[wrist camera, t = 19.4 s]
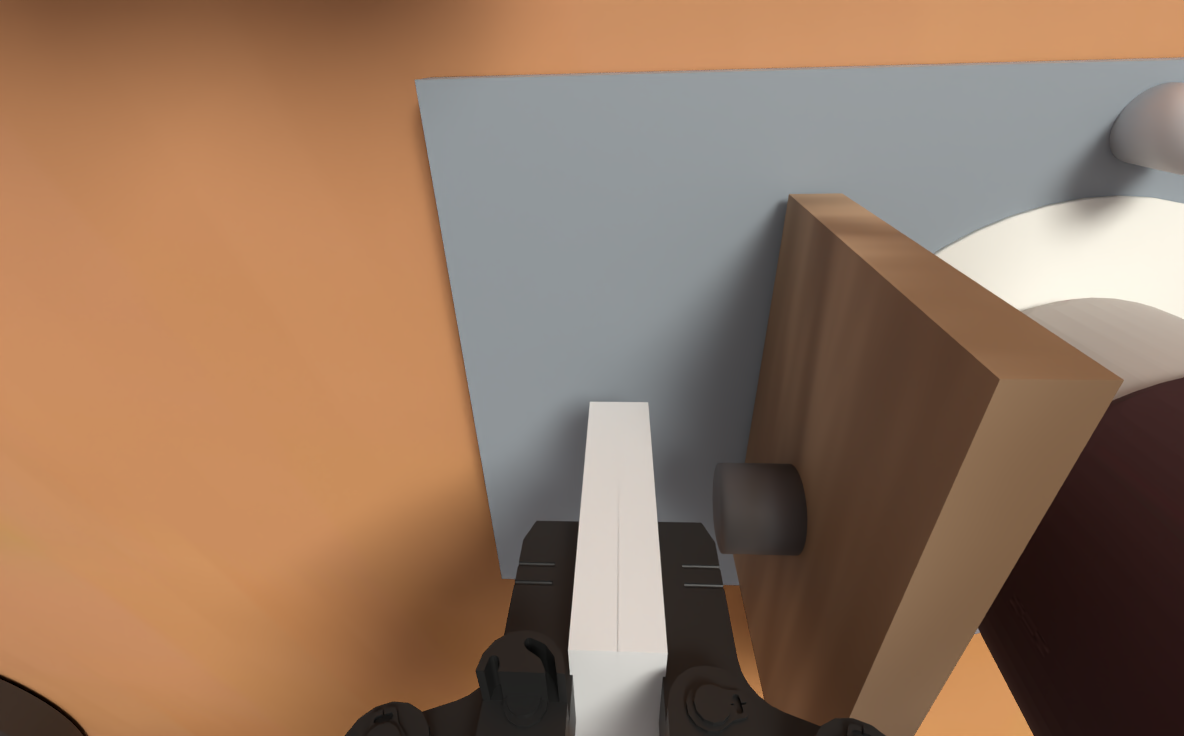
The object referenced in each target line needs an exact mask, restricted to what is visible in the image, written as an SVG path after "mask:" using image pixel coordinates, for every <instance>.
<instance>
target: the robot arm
mask: <svg viewBox="0 0 1184 736" xmlns="http://www.w3.org/2000/svg"><path fill="white" fill-rule="evenodd" d="M719 566H720V565H719V560H718V554H717V549H716V544H715V541H714V540H713V538H712V537H711V536H710V534H709V533H708V531H707V530H706V528H705V527H704V525H703V524H702V523H696V522H657V509H656V496H655V483H654V470H653V457H652V445H651V432H650V419H649V406H648V402H590V406H589V418H588V429H587V440H586V452H585V463H584V474H583V486H582V497H581V508H580V520H579V521H536V522H535V524H534V525H533V526H532V528H531V529H530V531H529V532H528V533H527V535H526V536H525V538H524V539H523V543H522V548H521V553H520V558H519V566H518V568H517V573H516V578H515V585H514V588H513V593H512V598H511V603H510V608H509V613H508V618H507V623H506V628H505V633H504V636H503V637H501V638H499V639H497V640H495V641H494V642H493V643H492V644H491V646H490V647H489V648H488V649H487V650H486V651H485V652H484V653H483V655H482V657H481V659H480V662H479V664H478V666H477V669H476V674H477V678H478V682H479V686H480V688H478V689H477V690H475V691H474V692H473V693H471V694H470V695H468V696H466V697H464V698H462V699H459V700H457V701H454V702H451V703H448V704H445V705H442V706H439V707H436V708H433V709H429V710H426V711H423V712H421V711H420V710H419V709H417V708H416V707H414V706H413V705H411V704H410V703H403V702H390V703H387V704H384V705H381V706H377V707H375V708H373V709H372V710H371V711H369V712H368V713H366V714H365V715H363V716H362V717H361V718H359V719H358V720H357V722H356V723H355V724H354V725H353V726H352V728H351V729H350V730H349V731H348V732H347V734H346V735H345V736H886V735H884V734H883V733H882V732H880V731H879V730H878V729H876V728H875V727H874V726H872V725H870V724H867V723H865V722H862V721H859V720H857V719H854V718H835V719H833V720H831V721H829V722H827V723H825V724H823V725H822V726H819V725H816V724H813V723H811V722H808V721H806V720H803V719H801V718H798V717H795V716H793V715H790V714H788V713H785V712H783V711H781V710H779V709H777V708H775V707H773V706H771V705H770V704H768V703H767V702H766V701H764V700H763V699H762V698H761V697H759V696H758V695H757V694H756V692H755V691H754V690H753V689H752V688H751V687H750V685H749V684H748V683H747V681H746V679H745V677H744V676H743V674H742V672H741V669H740V666H739V662H738V659H737V654H736V648H735V643H734V638H733V633H732V628H731V622H730V617H729V612H728V607H727V601H726V596H725V591H724V589H723V581H722V575H721V570H720V567H719ZM0 736H83V735H82V733H81V732H80V731H79V730H78V729H77V727H76V726H75V725H74V724H73V723H72V722H70V721H69V720H68V719H67V718H66V717H65V716H63V715H62V714H61V713H60V712H58V711H57V710H55V709H54V708H53V707H51V706H50V705H48V704H47V703H45V702H43V701H42V700H40V699H38V698H37V697H35V696H33V695H31V694H30V693H28V692H26V691H24V690H22V689H20V688H18V687H16V686H14V685H12V684H10V683H8V682H6V681H4V680H1V679H0Z"/></svg>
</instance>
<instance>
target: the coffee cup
mask: <svg viewBox="0 0 1184 736" xmlns="http://www.w3.org/2000/svg"><path fill="white" fill-rule="evenodd" d="M1021 312H1022V313H1024V314H1025V315H1027V316H1028V317H1030V318H1031V319H1033V320H1034V321H1036V322H1037V323H1039V324H1040V325H1042V326H1043V327H1045V328H1046V329H1048V330H1049V331H1051V332H1052V333H1054V334H1055V335H1057V336H1058V337H1060V338H1061V339H1063V340H1064V341H1066V342H1067V343H1069V344H1071V345H1072V346H1074V347H1075V348H1077V349H1078V350H1080V351H1081V352H1083V353H1084V354H1086V355H1087V356H1089V357H1090V358H1092V359H1093V360H1095V361H1096V362H1098V363H1099V364H1101V365H1102V366H1104V367H1105V368H1107V369H1108V370H1110V371H1111V372H1113V373H1114V374H1116V375H1117V376H1119V377H1120V378H1122V379H1123V380H1124V381H1123V383H1122V385H1121V386H1120V388H1119V390H1118V391H1117V393H1116V395H1115V397H1114V398H1113V400H1112V402H1111V403H1110V405H1109V407H1108V408H1107V410H1106V412H1105V413H1104V415H1103V417H1102V419H1101V420H1100V422H1099V424H1098V425H1097V427H1096V429H1095V430H1094V432H1093V434H1092V435H1091V437H1090V439H1089V441H1088V442H1087V444H1086V446H1085V447H1084V449H1083V451H1082V452H1081V454H1080V456H1079V458H1078V459H1077V461H1076V463H1075V464H1074V466H1073V468H1072V469H1071V471H1070V473H1069V474H1068V476H1067V478H1066V480H1065V481H1064V483H1063V485H1062V486H1061V488H1060V490H1059V491H1058V493H1057V495H1056V496H1055V498H1054V500H1053V502H1052V503H1051V505H1050V507H1049V508H1048V510H1047V512H1046V513H1045V515H1044V517H1043V518H1042V520H1041V522H1040V524H1039V525H1038V527H1037V529H1036V530H1035V532H1034V534H1033V535H1032V537H1031V539H1030V540H1029V542H1028V544H1027V546H1026V547H1025V549H1024V551H1023V552H1022V554H1021V556H1020V557H1019V559H1018V561H1017V562H1016V564H1015V566H1014V568H1013V569H1012V571H1011V573H1010V574H1009V576H1008V578H1007V579H1006V581H1005V583H1004V584H1003V586H1002V588H1001V590H1000V591H999V593H998V595H997V596H996V598H995V600H994V601H993V603H992V605H991V606H990V608H989V610H988V612H987V613H986V615H985V617H984V618H983V620H982V622H981V623H980V625H979V627H978V629H979V631H980V633H981V635H982V637H983V639H984V641H985V643H986V645H987V647H988V648H989V650H990V652H991V654H992V656H993V658H994V660H995V662H996V664H997V666H998V668H999V670H1000V672H1001V673H1002V675H1003V677H1004V679H1005V681H1006V683H1007V685H1008V687H1009V689H1010V691H1011V693H1012V695H1013V696H1014V698H1015V700H1016V702H1017V704H1018V706H1019V708H1020V710H1021V712H1022V714H1023V716H1024V718H1025V720H1026V721H1027V723H1028V725H1029V727H1030V729H1031V731H1032V733H1033V735H1034V736H1184V319H1182V318H1180V317H1177V316H1175V315H1172V314H1170V313H1168V312H1165V311H1163V310H1160V309H1158V308H1155V307H1152V306H1148V305H1145V304H1141V303H1137V302H1132V301H1126V300H1121V299H1115V298H1081V299H1070V300H1063V301H1057V302H1053V303H1049V304H1045V305H1041V306H1037V307H1033V308H1029V309H1026V310H1023V311H1021Z"/></svg>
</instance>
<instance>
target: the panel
mask: <svg viewBox="0 0 1184 736" xmlns="http://www.w3.org/2000/svg"><path fill="white" fill-rule="evenodd" d="M1123 381H1124V380H1123V379H1122V378H1120V377H1119V376H1117V375H1116V374H1114V373H1113V372H1111V371H1110V370H1108V369H1107V368H1105V367H1104V366H1102V365H1101V364H1099V363H1098V362H1096V361H1095V360H1093V359H1092V358H1090V357H1089V356H1087V355H1086V354H1084V353H1083V352H1081V351H1080V350H1078V349H1077V348H1075V347H1074V346H1072V345H1071V344H1069V343H1067V342H1066V341H1064V340H1063V339H1061V338H1060V337H1058V336H1057V335H1055V334H1054V333H1052V332H1051V331H1049V330H1048V329H1046V328H1045V327H1043V326H1042V325H1040V324H1039V323H1037V322H1036V321H1034V320H1033V319H1031V318H1030V317H1028V316H1027V315H1025V314H1024V313H1022V312H1021V311H1019V310H1018V309H1016V308H1015V307H1013V306H1012V305H1010V304H1009V303H1007V302H1006V301H1004V300H1002V299H1001V298H999V297H998V296H996V295H995V294H993V293H992V292H990V291H989V290H987V289H986V288H984V287H983V286H981V285H980V284H978V283H977V282H975V281H974V280H972V279H971V278H969V277H968V276H966V275H965V274H963V273H962V272H960V271H959V270H957V269H956V268H954V267H953V266H951V265H950V264H948V263H947V262H945V261H944V260H942V259H941V258H939V257H938V256H936V255H934V254H933V253H931V252H930V251H928V250H927V249H925V248H924V247H922V246H921V245H919V244H918V243H916V242H915V241H913V240H912V239H910V238H909V237H907V236H906V235H904V234H903V233H901V232H900V231H898V230H897V229H895V228H894V227H892V226H891V225H889V224H888V223H886V222H885V221H883V220H882V219H880V218H879V217H877V216H876V215H874V214H873V213H871V212H870V211H868V210H866V209H865V208H863V207H862V206H860V205H859V204H857V203H856V202H854V201H853V200H851V199H850V198H848V197H847V196H845V195H844V194H842V193H831V194H789V197H788V203H787V209H786V215H785V221H784V227H783V234H782V240H781V246H780V252H779V258H778V264H777V270H776V276H775V282H774V288H773V294H772V300H771V306H770V313H769V319H768V325H767V331H766V337H765V343H764V349H763V355H762V361H761V367H760V373H759V379H758V386H757V392H756V398H755V404H754V410H753V416H752V422H751V428H750V434H749V440H748V446H747V452H746V459H745V463H717V465H716V467H715V471H714V478H713V495H712V501H713V520H714V529H715V536H716V541H717V545H718V548H719V550H720V552H721V553H722V554H733V558H734V562H735V567H736V571H737V576H738V581H739V585H740V590H741V595H742V599H743V604H744V608H745V613H746V618H747V622H748V627H749V631H750V636H751V641H752V645H753V650H754V654H755V659H756V664H757V668H758V673H759V678H760V682H761V687H762V691H763V696H764V701H766V702H767V703H768V704H770V705H771V706H773V707H775V708H777V709H779V710H781V711H783V712H785V713H788V714H790V715H793V716H795V717H798V718H801V719H803V720H806V721H808V722H811V723H813V724H816V725H819V726H822V725H823V724H825V723H827V722H829V721H831V720H833V719H835V718H854V719H857V720H859V721H862V722H865V723H867V724H870V725H872V726H874V727H875V728H876V729H878V730H879V731H880V732H882V733H883V734H884V735H886V736H914V735H915V733H916V732H917V730H918V728H919V727H920V725H921V723H922V722H923V720H924V718H925V717H926V715H927V713H928V711H929V710H930V708H931V706H932V705H933V703H934V701H935V700H936V698H937V696H938V695H939V693H940V691H941V689H942V688H943V686H944V684H945V683H946V681H947V679H948V678H949V676H950V674H951V673H952V671H953V669H954V667H955V666H956V664H957V662H958V661H959V659H960V657H961V656H962V654H963V652H964V651H965V649H966V647H967V645H968V644H969V642H970V640H971V639H972V637H973V635H974V634H975V632H976V630H977V629H978V627H979V625H980V623H981V622H982V620H983V618H984V617H985V615H986V613H987V612H988V610H989V608H990V606H991V605H992V603H993V601H994V600H995V598H996V596H997V595H998V593H999V591H1000V590H1001V588H1002V586H1003V584H1004V583H1005V581H1006V579H1007V578H1008V576H1009V574H1010V573H1011V571H1012V569H1013V568H1014V566H1015V564H1016V562H1017V561H1018V559H1019V557H1020V556H1021V554H1022V552H1023V551H1024V549H1025V547H1026V546H1027V544H1028V542H1029V540H1030V539H1031V537H1032V535H1033V534H1034V532H1035V530H1036V529H1037V527H1038V525H1039V524H1040V522H1041V520H1042V518H1043V517H1044V515H1045V513H1046V512H1047V510H1048V508H1049V507H1050V505H1051V503H1052V502H1053V500H1054V498H1055V496H1056V495H1057V493H1058V491H1059V490H1060V488H1061V486H1062V485H1063V483H1064V481H1065V480H1066V478H1067V476H1068V474H1069V473H1070V471H1071V469H1072V468H1073V466H1074V464H1075V463H1076V461H1077V459H1078V458H1079V456H1080V454H1081V452H1082V451H1083V449H1084V447H1085V446H1086V444H1087V442H1088V441H1089V439H1090V437H1091V435H1092V434H1093V432H1094V430H1095V429H1096V427H1097V425H1098V424H1099V422H1100V420H1101V419H1102V417H1103V415H1104V413H1105V412H1106V410H1107V408H1108V407H1109V405H1110V403H1111V402H1112V400H1113V398H1114V397H1115V395H1116V393H1117V391H1118V390H1119V388H1120V386H1121V385H1122V383H1123Z"/></svg>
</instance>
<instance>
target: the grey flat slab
mask: <svg viewBox="0 0 1184 736" xmlns="http://www.w3.org/2000/svg"><path fill="white" fill-rule="evenodd" d="M415 84H416V90H417V96H418V102H419V107H420V113H421V119H422V124H423V130H424V136H425V142H426V147H427V153H428V159H429V165H430V170H431V176H432V182H433V187H434V193H435V199H436V205H437V210H438V216H439V222H440V227H441V233H442V239H443V245H444V250H445V256H446V262H447V267H448V273H449V279H450V285H451V290H452V296H453V302H454V307H455V313H456V319H457V325H458V330H459V336H460V342H461V348H462V353H463V359H464V365H465V370H466V376H467V382H468V388H469V393H470V399H471V405H472V410H473V416H474V422H475V428H476V433H477V439H478V445H479V450H480V456H481V462H482V468H483V473H484V479H485V485H486V490H487V496H488V502H489V508H490V513H491V519H492V525H493V531H494V536H495V542H496V548H497V553H498V559H499V565H500V571H501V576H502V579H515V578H516V573H517V568H518V566H519V558H520V553H521V548H522V543H523V539H524V538H525V536H526V535H527V533H528V532H529V531H530V529H531V528H532V526H533V525H534V524H535V522H536V521H579V520H580V508H581V497H582V486H583V474H584V463H585V452H586V440H587V429H588V418H589V406H590V402H648V406H649V419H650V432H651V445H652V457H653V470H654V483H655V496H656V509H657V522H696V523H702V524H703V525H704V527H705V528H706V530H707V531H708V533H709V534H710V536H711V537H712V538H713V540H714V541H715V544H716V549H717V554H718V560H719V565H720V566H719V567H720V570H721V575H722V581H723V585H739V581H738V576H737V571H736V567H735V562H734V558H733V554H722V553H721V552H720V550H719V548H718V545H717V541H716V536H715V529H714V520H713V501H712V495H713V478H714V471H715V467H716V465H717V463H745V459H746V452H747V446H748V440H749V434H750V428H751V422H752V416H753V410H754V404H755V398H756V392H757V386H758V379H759V373H760V367H761V361H762V355H763V349H764V343H765V337H766V331H767V325H768V319H769V313H770V306H771V300H772V294H773V288H774V282H775V276H776V270H777V264H778V258H779V252H780V246H781V240H782V234H783V227H784V221H785V215H786V209H787V203H788V197H789V194H831V193H842V194H844V195H845V196H847V197H848V198H850V199H851V200H853V201H854V202H856V203H857V204H859V205H860V206H862V207H863V208H865V209H866V210H868V211H870V212H871V213H873V214H874V215H876V216H877V217H879V218H880V219H882V220H883V221H885V222H886V223H888V224H889V225H891V226H892V227H894V228H895V229H897V230H898V231H900V232H901V233H903V234H904V235H906V236H907V237H909V238H910V239H912V240H913V241H915V242H916V243H918V244H919V245H921V246H922V247H924V248H925V249H927V250H928V251H930V252H931V253H933V254H934V255H936V256H938V257H939V258H941V259H942V260H944V261H945V262H947V263H948V264H950V265H951V266H953V267H954V268H956V269H957V270H959V271H960V272H962V273H963V274H965V275H966V276H968V277H969V278H971V279H972V280H974V281H975V282H977V283H978V284H980V285H981V286H983V287H984V288H986V289H987V290H989V291H990V292H992V293H993V294H995V295H996V296H998V297H999V298H1001V299H1002V300H1004V301H1006V302H1007V303H1009V304H1010V305H1012V306H1013V307H1015V308H1016V309H1018V310H1019V311H1023V310H1026V309H1029V308H1033V307H1037V306H1041V305H1045V304H1049V303H1053V302H1057V301H1063V300H1070V299H1081V298H1115V299H1121V300H1126V301H1132V302H1137V303H1141V304H1145V305H1148V306H1152V307H1155V308H1158V309H1160V310H1163V311H1165V312H1168V313H1170V314H1172V315H1175V316H1177V317H1180V318H1182V319H1184V57H1181V58H1143V59H1106V60H1068V61H1030V62H993V63H955V64H917V65H879V66H842V67H804V68H766V69H729V70H691V71H653V72H615V73H578V74H540V75H502V76H465V77H431V78H424V79H417V80H415ZM977 633H980V631H979V629H977V630H976V632H975V634H977Z"/></svg>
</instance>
